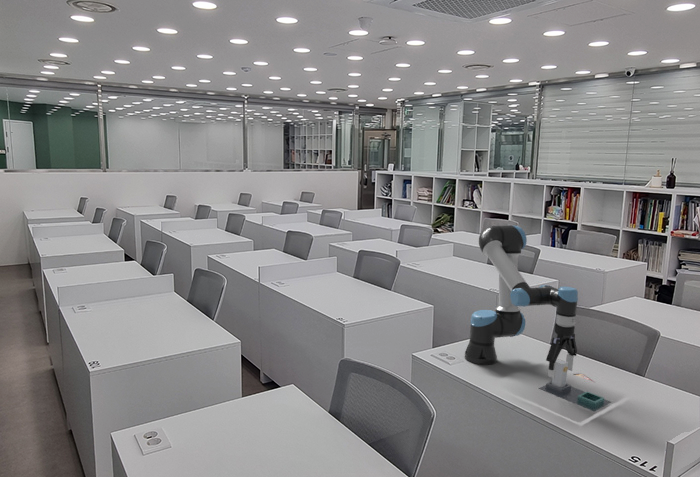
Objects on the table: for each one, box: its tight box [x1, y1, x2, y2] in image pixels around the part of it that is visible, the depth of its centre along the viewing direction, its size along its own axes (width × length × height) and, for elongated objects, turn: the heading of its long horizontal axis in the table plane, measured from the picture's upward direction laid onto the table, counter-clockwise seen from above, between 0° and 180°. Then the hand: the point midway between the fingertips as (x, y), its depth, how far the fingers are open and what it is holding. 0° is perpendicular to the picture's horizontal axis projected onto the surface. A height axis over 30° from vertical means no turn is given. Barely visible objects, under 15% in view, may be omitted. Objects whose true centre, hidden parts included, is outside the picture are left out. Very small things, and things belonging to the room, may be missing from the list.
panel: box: [538, 380, 611, 412], centre depth 213 cm, size 24×14×3 cm, turn 38°
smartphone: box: [572, 373, 596, 383], centre depth 228 cm, size 1×7×15 cm
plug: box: [551, 358, 568, 388], centre depth 217 cm, size 5×4×12 cm
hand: (560, 373), depth 217 cm, fingers open, 13 cm apart
